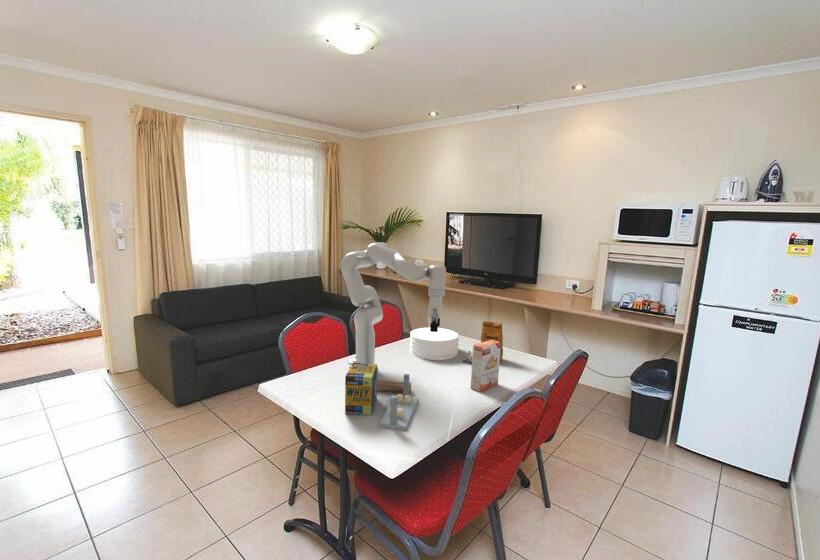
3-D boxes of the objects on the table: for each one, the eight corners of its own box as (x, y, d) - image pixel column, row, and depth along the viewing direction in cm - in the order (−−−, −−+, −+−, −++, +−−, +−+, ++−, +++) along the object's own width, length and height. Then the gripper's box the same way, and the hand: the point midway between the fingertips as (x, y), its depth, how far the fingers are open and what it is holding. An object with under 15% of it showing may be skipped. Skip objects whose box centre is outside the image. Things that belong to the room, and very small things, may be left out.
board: (409, 395, 167) (409, 386, 167) (373, 392, 170) (373, 383, 169) (410, 391, 171) (411, 382, 171) (375, 388, 174) (376, 379, 174)
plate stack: (399, 351, 226) (400, 332, 224) (432, 342, 245) (433, 325, 243) (434, 364, 205) (435, 344, 204) (467, 354, 224) (468, 335, 223)
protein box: (344, 414, 148) (344, 376, 146) (352, 397, 164) (352, 362, 161) (371, 416, 148) (372, 377, 146) (377, 398, 163) (377, 363, 161)
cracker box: (480, 393, 171) (483, 347, 168) (469, 388, 176) (472, 344, 173) (499, 385, 181) (501, 341, 178) (488, 381, 185) (490, 338, 182)
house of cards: (482, 363, 210) (483, 349, 209) (476, 367, 203) (477, 353, 202) (467, 359, 215) (468, 346, 214) (460, 364, 208) (461, 350, 207)
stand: (379, 426, 140) (379, 396, 138) (395, 398, 163) (395, 372, 162) (405, 430, 138) (406, 400, 136) (418, 401, 161) (419, 375, 160)
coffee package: (499, 365, 207) (501, 325, 204) (477, 360, 213) (479, 322, 210) (504, 360, 215) (507, 321, 212) (483, 355, 221) (485, 318, 218)
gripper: (430, 288, 184) (429, 323, 187) (425, 295, 167) (424, 333, 170) (446, 289, 183) (444, 324, 185) (443, 296, 166) (441, 334, 168)
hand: (435, 328), depth 178 cm, fingers open, 9 cm apart
